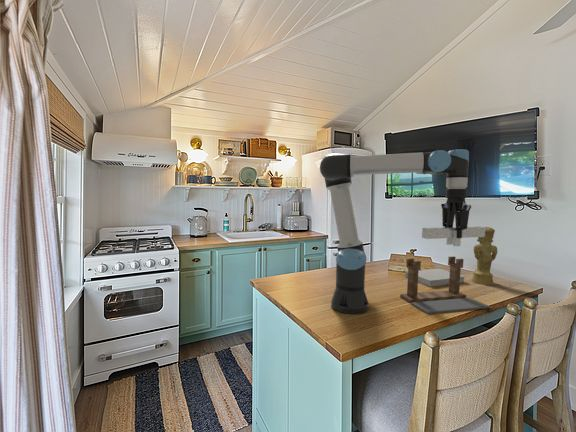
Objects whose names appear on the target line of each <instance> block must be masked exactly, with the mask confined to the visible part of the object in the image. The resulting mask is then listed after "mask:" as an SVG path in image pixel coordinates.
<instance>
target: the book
mask: <svg viewBox="0 0 576 432" xmlns="http://www.w3.org/2000/svg"><path fill="white" fill-rule="evenodd" d="M404 277H405V278H406V279H408V271H406V272H404ZM449 277H450V270H449V271H448V270H445V269H442V268H433V269H432V268H431V269H422V270H421V269H420V270H418V284H419V283H420V284H422V285H424V286H427V287H430V288H432V287H439V286H440V287H441V286H447V284H448V285H449ZM465 278H466V276H465V275H461V274H460V284H463V283H464V282H465ZM462 282H463V283H462Z"/></svg>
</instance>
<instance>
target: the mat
mask: <svg viewBox="0 0 576 432" xmlns="http://www.w3.org/2000/svg"><path fill="white" fill-rule="evenodd" d="M410 305H411V306H413V307H415V308H416V309H418V310H419V311H422V312H423V313H425V314H426V315H431V314H442V313H451V312H463V311H473V310H483V309H490V308H491V307H490V305H487V304H486V303H483V302H481V301H479V300H476V299H475V298H472V297H466V298H460V299H448V300H436V301H425V302H413V303H410Z"/></svg>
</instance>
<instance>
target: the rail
mask: <svg viewBox="0 0 576 432" xmlns="http://www.w3.org/2000/svg"><path fill="white" fill-rule="evenodd" d="M485 227H486V226H467V229H464V230H462V238H461V239H463V238H468V239H469V238H478V237H485ZM454 229H456V226H453V227H443V226H442V227H422V229H421V230H422V231H421V238H422V239H426V240H431V239H433V240H434V239H447V238H454Z"/></svg>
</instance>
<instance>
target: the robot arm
mask: <svg viewBox="0 0 576 432" xmlns="http://www.w3.org/2000/svg"><path fill="white" fill-rule="evenodd" d="M469 163H470V152H469V150H468V149H461V148H460V149H452V150H449V151H446V150H443V149H442V150H441V149H440V150H434V151H425V152H405V153H404V152H403V153H387V154H370V155H366V154H365V155H354V154H353V153H330V154H327V155H326V156H324V157H323V158H322V160H321V161H320V164H319V172H320V175H321V176H322V177H323V178H324V183H325V188H326V189H327V190H328V191H329V192H330V197H331V202H332V208H333V213H334V218H335V223H336V230H337V235H338V240H339V242H338V244H337V253H336V257H335V263H336V267H335V268H336V270H335V289H334V292H333V294H332V297H331V301H330V304H331V305H330V306H331V307H332V308H333V309H334V310H335V311H337V312H339V313H343V314H350V315H352V314H353V315H356V314H357V315H359V314H364V313H366V312H367V311H368V310H369V301H368V296H367V294H366V291H365V283H366V282H365V280H366V264H367V255H366V252H365V249H364V244H363V243H364V242H363V241H361V240H360V238H359V235H358V230H357V229H358V228H357V224H356V219H355V217H356V216H355V213H354V212H355V211H354V206H353V202H352V197H351V196H352V195H351V191H350V187H351V185H352V178H353V177H354V176H361V175H362V176H363V175H364V176H366V175H367V176H368V175H391V174H392V175H395V174H411V173H412V174H413V173H414V174H415V173H416V174H417V175H445V174H446V181H445V182H446V183H445V187H446V189H445V198H446V199H447V200H446V201H445V203H441V205H440V207H441V209H442V212H441V213H442V214H441V215H442V217H441V218H442V224H441V225H442V228H443V227H454V221H455V227H456V229H454V238H446V245H448V246H449V245H452V247H461V243H462V241H461V239H463V238H462V230H464V229H467V227H468V223H469V216H470V210H471V209H472V205H471V204H467V203H466V199H467V198H468V189H467V188H468V182H469V181H468V179H469V178H468V177H469V175H468V174H469Z"/></svg>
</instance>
